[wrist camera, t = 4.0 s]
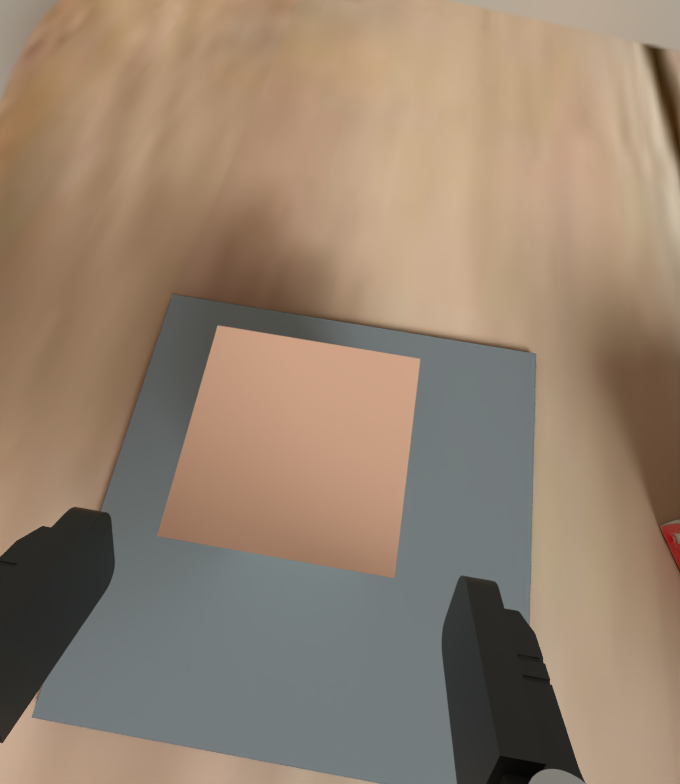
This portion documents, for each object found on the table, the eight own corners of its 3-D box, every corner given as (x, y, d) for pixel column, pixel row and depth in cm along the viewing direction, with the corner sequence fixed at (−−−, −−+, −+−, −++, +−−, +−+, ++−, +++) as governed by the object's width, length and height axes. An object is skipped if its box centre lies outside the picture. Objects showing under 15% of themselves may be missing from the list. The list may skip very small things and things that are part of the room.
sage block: (379, 445, 20) (420, 358, 11) (361, 571, 18) (394, 578, 10) (262, 426, 20) (217, 325, 12) (234, 548, 18) (156, 536, 10)
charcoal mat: (532, 357, 22) (536, 353, 22) (520, 805, 16) (524, 810, 16) (175, 298, 22) (172, 294, 22) (38, 713, 17) (31, 717, 16)
